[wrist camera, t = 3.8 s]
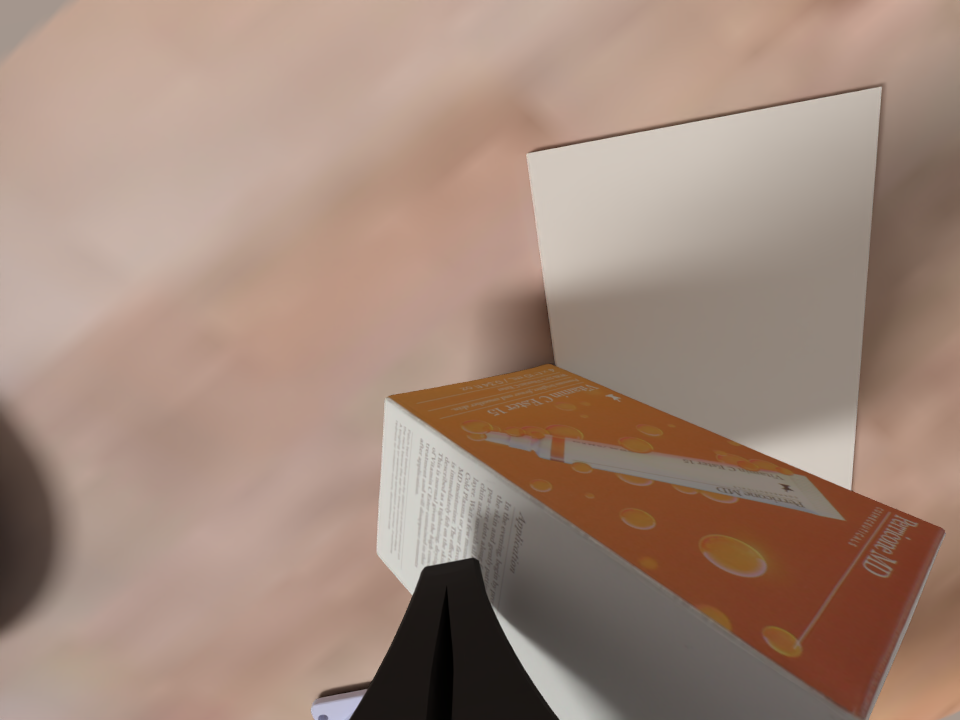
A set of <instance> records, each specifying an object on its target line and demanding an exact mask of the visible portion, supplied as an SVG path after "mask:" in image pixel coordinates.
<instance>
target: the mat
mask: <svg viewBox="0 0 960 720" xmlns="http://www.w3.org/2000/svg"><path fill="white" fill-rule="evenodd" d="M881 91H882V87H877V88H871V89H866V90H861V91H856V92H850V93H845V94H840V95H834V96H829V97H824V98H819V99H813V100H808V101H803V102H797V103H792V104H787V105H781V106H776V107H771V108H766V109H760V110H755V111H750V112H744V113H739V114H734V115H728V116H723V117H718V118H713V119H707V120H702V121H697V122H691V123H686V124H681V125H675V126H670V127H665V128H660V129H654V130H649V131H644V132H638V133H633V134H628V135H623V136H617V137H612V138H607V139H601V140H596V141H591V142H585V143H580V144H575V145H570V146H564V147H559V148H554V149H548V150H543V151H538V152H532V153H528V154H526V157H527V164H528V171H529V179H530V186H531V193H532V200H533V208H534V215H535V222H536V230H537V237H538V244H539V251H540V259H541V266H542V273H543V281H544V288H545V295H546V303H547V310H548V317H549V324H550V332H551V339H552V346H553V354H554V361H555V366H557V367H559V368H562V369H564V370H567V371H569V372H571V373H574V374H576V375H579V376H581V377H583V378H586V379H588V380H590V381H593V382H595V383H598V384H600V385H602V386H605V387H607V388H609V389H611V390H614V391H616V392H618V393H620V394H623V395H625V396H628V397H630V398H632V399H635V400H637V401H639V402H642V403H644V404H647V405H649V406H651V407H654V408H656V409H659V410H661V411H663V412H666V413H668V414H670V415H673V416H675V417H678V418H680V419H682V420H685V421H687V422H690V423H692V424H695V425H697V426H699V427H702V428H704V429H707V430H709V431H711V432H714V433H716V434H718V435H721V436H723V437H725V438H728V439H730V440H732V441H735V442H737V443H739V444H742V445H744V446H747V447H749V448H751V449H754V450H756V451H758V452H760V453H763V454H765V455H768V456H770V457H772V458H775V459H777V460H780V461H782V462H785V463H787V464H789V465H792V466H794V467H796V468H799V469H801V470H803V471H806V472H808V473H811V474H813V475H815V476H818V477H820V478H822V479H825V480H827V481H829V482H832V483H834V484H837V485H839V486H841V487H844V488H846V489H848V490H851V485H852V472H853V459H854V445H855V432H856V419H857V406H858V393H859V380H860V367H861V354H862V340H863V327H864V314H865V301H866V288H867V275H868V262H869V249H870V235H871V222H872V209H873V196H874V183H875V170H876V157H877V144H878V130H879V117H880V104H881Z"/></svg>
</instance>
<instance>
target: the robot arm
mask: <svg viewBox="0 0 960 720" xmlns="http://www.w3.org/2000/svg"><path fill="white" fill-rule="evenodd" d="M311 713H312V715H313V718H314V720H560V719H559V718H558V717H557V716H556V714H555V713H554V712H553V710H552V709H551V708H550V706H549V705H548V703H547V702H546V700H545V699H544V698H543V696H542V695H541V693H540V692H539V690H538V689H537V687H536V686H535V684H534V683H533V681H532V680H531V678H530V677H529V675H528V673H527V672H526V670H525V669H524V667H523V665H522V664H521V662H520V660H519V659H518V657H517V655H516V653H515V652H514V650H513V648H512V646H511V644H510V643H509V641H508V639H507V637H506V635H505V633H504V631H503V629H502V627H501V625H500V623H499V621H498V619H497V617H496V614H495V612H494V610H493V608H492V606H491V603H490V601H489V598H488V595H487V593H486V589H485V585H484V580H483V576H482V571H481V567H480V563H479V560H477V559H476V558H474V557H473V558H468V559H462V560H457V561H452V562H447V563H442V564H436V565H431V566H426V567H424V569H423V570H422V571H421V574H420V577H419V580H418V582H417V585H416V588H415V591H414V593H413V596H412V598H411V601H410V603H409V606H408V608H407V610H406V613H405V615H404V617H403V620H402V622H401V624H400V626H399V628H398V631H397V633H396V635H395V637H394V639H393V642H392V644H391V646H390V648H389V650H388V652H387V654H386V656H385V657H384V659H383V661H382V663H381V665H380V667H379V669H378V671H377V673H376V675H375V677H374V679H373V680H372V682H371V684H370V686H369V687H368V689H364V690H359V691H353V692H348V693H343V694H338V695H332V696H327V697H322V698H318V699H316V700H315V701H314V702H313V704H312V708H311Z"/></svg>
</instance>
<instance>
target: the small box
mask: <svg viewBox="0 0 960 720" xmlns="http://www.w3.org/2000/svg"><path fill="white" fill-rule="evenodd" d="M945 535H946V533H945V530H944V529H942V528H941V527H938V526H936V525H933V524H930V523H928V522H926V521H923V520H921V519H919V518H916V517H914V516H911V515H909V514H906V513H904V512H902V511H899V510H897V509H894V508H892V507H889V506H887V505H884V504H882V503H880V502H877V501H875V500H872V499H870V498H867V497H865V496H863V495H860V494H858V493H855V492H853V491H851V490H848V489H846V488H844V487H841V486H839V485H837V484H834V483H832V482H829V481H827V480H825V479H822V478H820V477H818V476H815V475H813V474H811V473H808V472H806V471H803V470H801V469H799V468H796V467H794V466H792V465H789V464H787V463H785V462H782V461H780V460H777V459H775V458H772V457H770V456H768V455H765V454H763V453H760V452H758V451H756V450H754V449H751V448H749V447H747V446H744V445H742V444H739V443H737V442H735V441H732V440H730V439H728V438H725V437H723V436H721V435H718V434H716V433H714V432H711V431H709V430H707V429H704V428H702V427H699V426H697V425H695V424H692V423H690V422H687V421H685V420H682V419H680V418H678V417H675V416H673V415H670V414H668V413H666V412H663V411H661V410H659V409H656V408H654V407H651V406H649V405H647V404H644V403H642V402H639V401H637V400H635V399H632V398H630V397H628V396H625V395H623V394H620V393H618V392H616V391H614V390H611V389H609V388H607V387H605V386H602V385H600V384H598V383H595V382H593V381H590V380H588V379H586V378H583V377H581V376H579V375H576V374H574V373H571V372H569V371H567V370H564V369H562V368H559V367H557V366H554V365H552V364H545V365H541V366H538V367H535V368H531V369H526V370H522V371H517V372H513V373H508V374H503V375H498V376H493V377H488V378H484V379H479V380H474V381H469V382H463V383H457V384H452V385H446V386H441V387H436V388H430V389H425V390H419V391H413V392H408V393H402V394H396V395H391V396H388V397H387V398H386V399H385V407H384V427H383V444H382V464H381V480H380V494H379V511H378V532H377V554H378V556H379V557H380V558H381V560H382V561H383V562H384V563H385V564H386V565H387V566H388V568H389V569H390V570H391V571H392V572H393V573H394V575H395V576H396V577H397V578H398V579H399V580H400V582H401V583H402V584H403V585H404V586H405V587H406V589H407V590H408V591H409V592H410V593H411V594H412V595H413V593H414V591H415V588H416V585H417V582H418V580H419V577H420V574H421V571H422V570H423V569H424V567H426V566H431V565H436V564H442V563H447V562H452V561H457V560H462V559H468V558H473V557H474V558H476V559H477V560H479V563H480V567H481V571H482V576H483V580H484V585H485V589H486V593H487V595H488V598H489V601H490V603H491V606H492V608H493V610H494V612H495V614H496V617H497V619H498V621H499V623H500V625H501V627H502V629H503V631H504V633H505V635H506V637H507V639H508V641H509V643H510V644H511V646H512V648H513V650H514V652H515V653H516V655H517V657H518V659H519V660H520V662H521V664H522V665H523V667H524V669H525V670H526V672H527V673H528V675H529V677H530V678H531V680H532V681H533V683H534V684H535V686H536V687H537V689H538V690H539V692H540V693H541V695H542V696H543V698H544V699H545V700H546V702H547V703H548V705H549V706H550V708H551V709H552V710H553V712H554V713H555V714H556V716H557V717H558V718H559V719H560V720H869V717H870V715H871V713H872V710H873V708H874V706H875V703H876V701H877V699H878V696H879V694H880V692H881V689H882V687H883V685H884V682H885V680H886V677H887V675H888V673H889V670H890V668H891V666H892V663H893V661H894V659H895V656H896V654H897V652H898V649H899V647H900V645H901V642H902V640H903V638H904V635H905V633H906V631H907V628H908V626H909V623H910V621H911V618H912V616H913V613H914V611H915V608H916V606H917V603H918V601H919V598H920V596H921V593H922V591H923V588H924V586H925V583H926V581H927V578H928V576H929V573H930V571H931V568H932V565H933V563H934V560H935V558H936V556H937V553H938V551H939V548H940V546H941V544H942V541H943V539H944V537H945Z"/></svg>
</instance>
